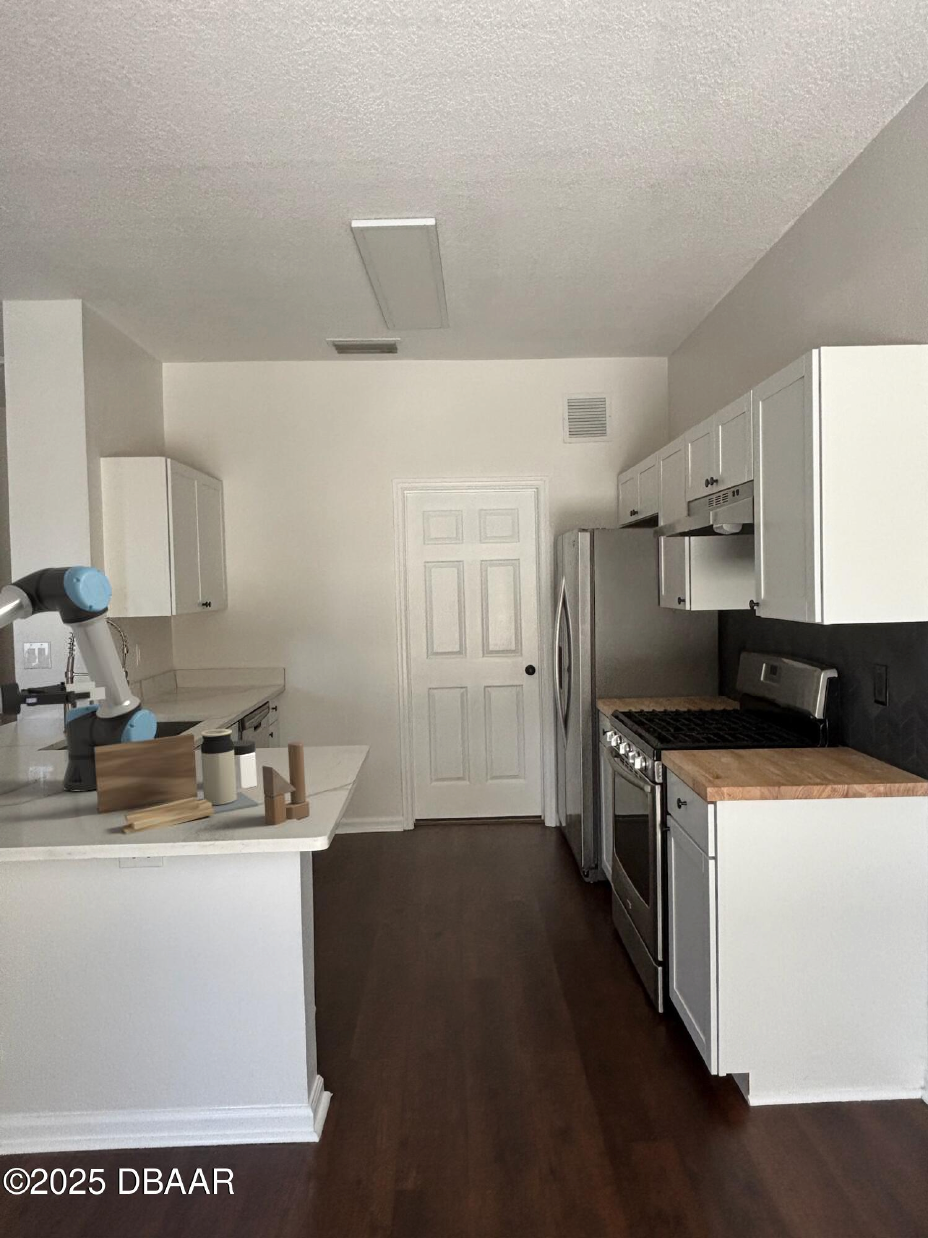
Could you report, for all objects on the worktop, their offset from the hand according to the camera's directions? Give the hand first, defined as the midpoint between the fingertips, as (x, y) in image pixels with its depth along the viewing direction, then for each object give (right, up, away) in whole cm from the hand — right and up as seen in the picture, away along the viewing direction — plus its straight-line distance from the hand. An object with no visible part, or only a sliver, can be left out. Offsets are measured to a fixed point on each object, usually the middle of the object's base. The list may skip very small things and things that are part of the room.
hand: (99, 689), depth 202 cm
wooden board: (+8, -31, +12) cm, 34 cm away
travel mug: (+26, -30, +10) cm, 41 cm away
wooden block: (+47, -31, -4) cm, 56 cm away
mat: (+27, -31, +9) cm, 42 cm away
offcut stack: (+18, -31, -5) cm, 36 cm away
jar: (+27, -30, +30) cm, 50 cm away
